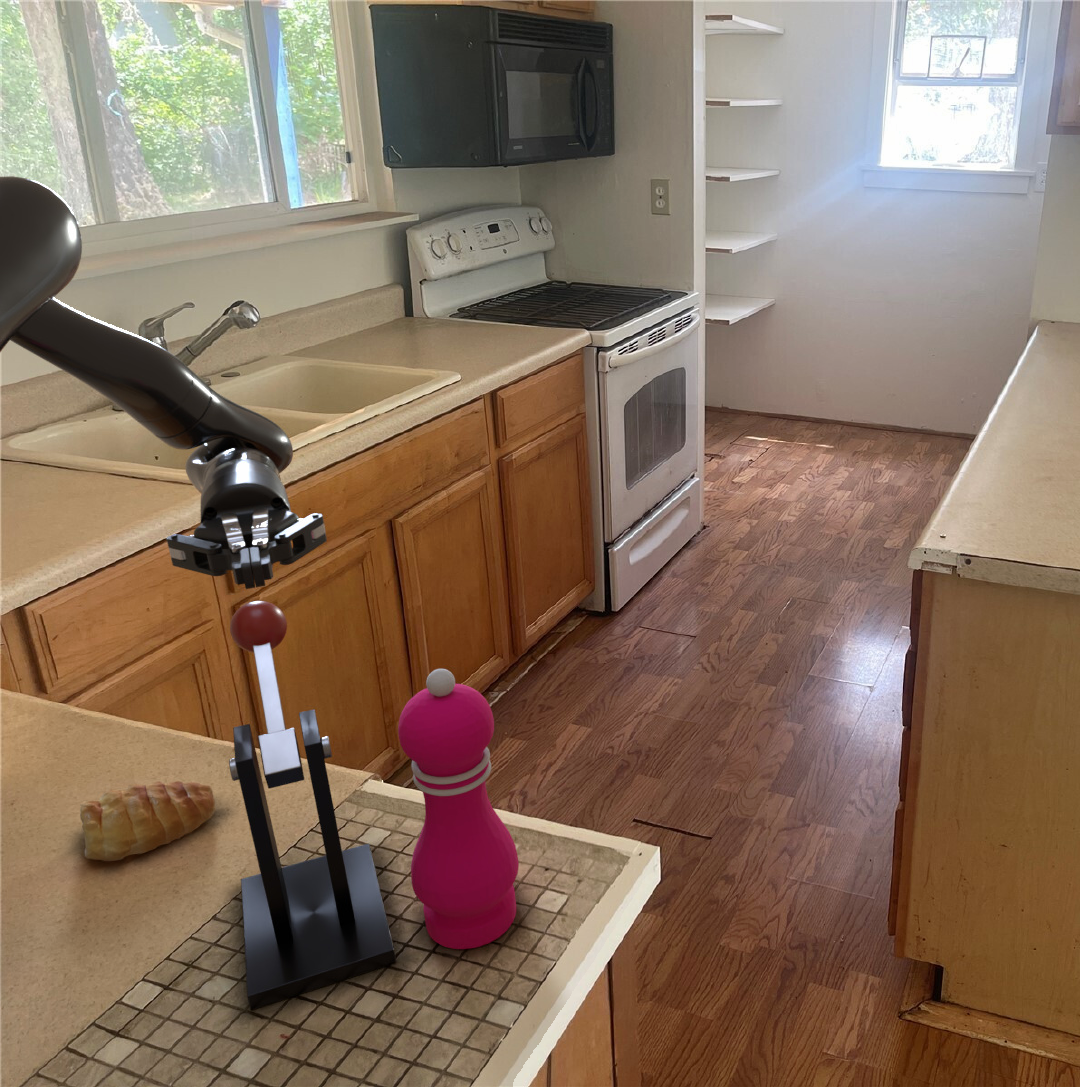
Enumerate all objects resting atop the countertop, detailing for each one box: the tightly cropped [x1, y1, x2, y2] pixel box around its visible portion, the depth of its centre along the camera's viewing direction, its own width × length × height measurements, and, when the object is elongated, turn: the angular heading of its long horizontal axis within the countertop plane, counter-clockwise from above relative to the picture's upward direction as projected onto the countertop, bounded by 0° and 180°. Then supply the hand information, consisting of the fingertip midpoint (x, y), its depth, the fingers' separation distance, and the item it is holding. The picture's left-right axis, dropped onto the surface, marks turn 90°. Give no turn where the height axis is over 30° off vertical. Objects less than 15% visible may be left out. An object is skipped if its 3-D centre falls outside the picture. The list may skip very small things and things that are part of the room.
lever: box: [229, 600, 305, 790], centre depth 68 cm, size 13×4×4 cm
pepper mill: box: [397, 668, 520, 950], centre depth 68 cm, size 7×7×20 cm
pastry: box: [79, 780, 217, 862], centre depth 80 cm, size 9×7×4 cm
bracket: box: [228, 709, 397, 1011], centre depth 68 cm, size 12×9×16 cm
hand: (253, 576), depth 80 cm, fingers closed
